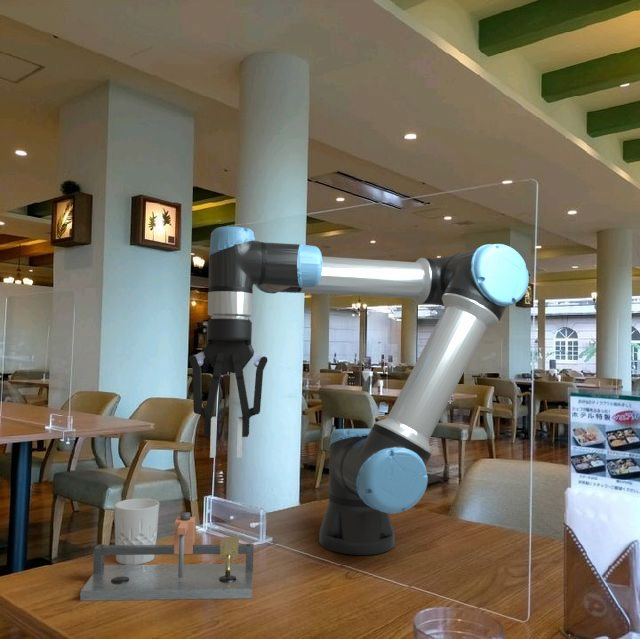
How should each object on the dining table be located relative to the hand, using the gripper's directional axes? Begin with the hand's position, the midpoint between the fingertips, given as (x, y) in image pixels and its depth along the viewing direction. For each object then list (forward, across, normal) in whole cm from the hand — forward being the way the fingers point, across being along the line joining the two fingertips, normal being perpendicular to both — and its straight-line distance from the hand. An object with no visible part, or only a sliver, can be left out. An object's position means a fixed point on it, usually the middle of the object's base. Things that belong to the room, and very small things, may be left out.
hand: (226, 455), depth 106 cm
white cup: (+21, +16, -10) cm, 29 cm away
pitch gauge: (+21, +8, +2) cm, 22 cm away
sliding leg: (+19, +7, +2) cm, 20 cm away
